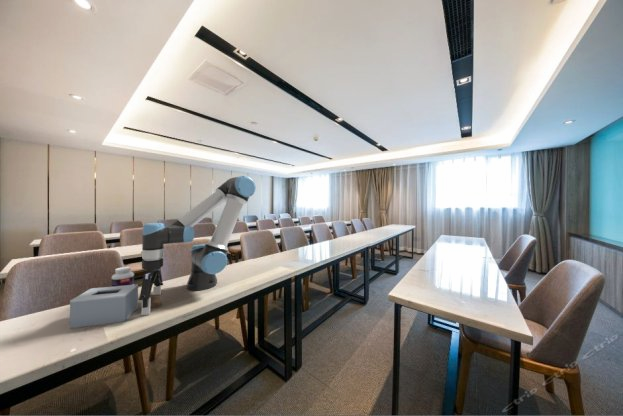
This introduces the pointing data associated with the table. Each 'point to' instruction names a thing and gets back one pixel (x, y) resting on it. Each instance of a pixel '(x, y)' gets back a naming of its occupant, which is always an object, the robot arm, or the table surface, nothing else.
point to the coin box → (103, 305)
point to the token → (155, 301)
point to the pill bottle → (122, 277)
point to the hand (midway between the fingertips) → (151, 307)
